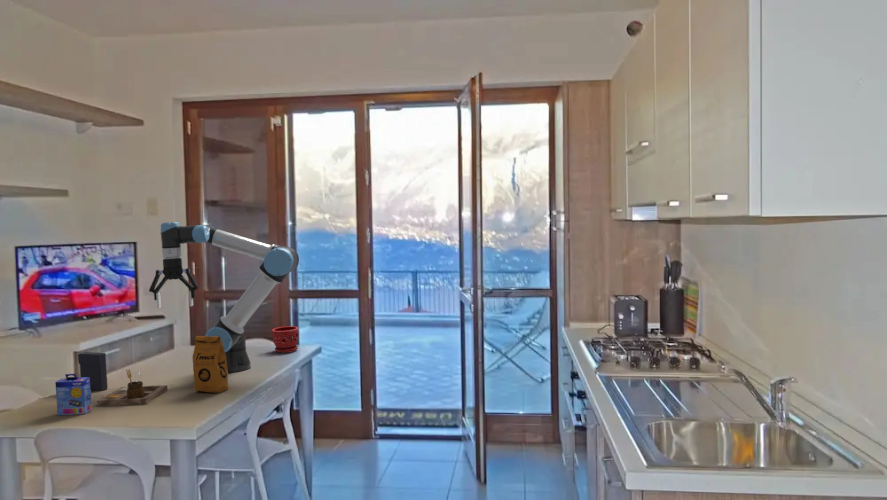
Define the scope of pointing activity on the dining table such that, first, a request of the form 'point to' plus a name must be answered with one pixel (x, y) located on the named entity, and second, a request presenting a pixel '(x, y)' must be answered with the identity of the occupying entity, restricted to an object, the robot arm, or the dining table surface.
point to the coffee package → (210, 365)
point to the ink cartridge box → (73, 395)
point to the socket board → (121, 399)
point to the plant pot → (285, 339)
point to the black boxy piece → (94, 369)
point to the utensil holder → (134, 388)
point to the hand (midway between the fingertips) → (175, 307)
